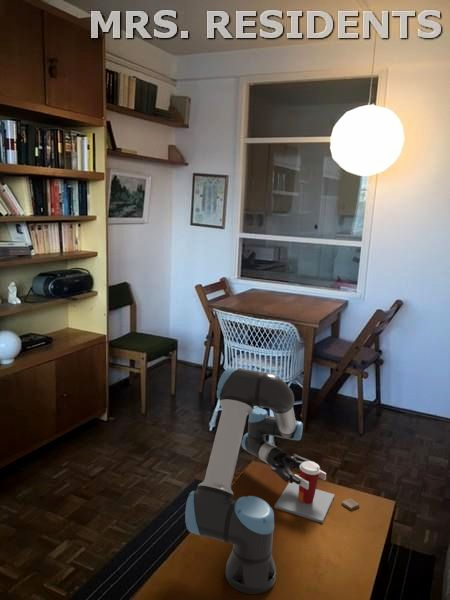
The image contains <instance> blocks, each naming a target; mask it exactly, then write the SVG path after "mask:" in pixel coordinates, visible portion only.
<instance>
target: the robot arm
mask: <svg viewBox="0 0 450 600" xmlns="http://www.w3.org/2000/svg"><path fill="white" fill-rule="evenodd" d="M218 380H219V381H218V383H217V390H216V398H217V399H218V401H219V402H218V403H219V406H220V407H221V414H220V417H219V421H218V425H217V429H216V433H215V437H214V441H213V445H212V449H211V452H210V456H209V460H208V465H207V468H206V472H205V476H204V480H203V481H202V482H200V483H199V484H198V485H197V487H196V490H191V492H190V493H189V494H188V497H187V500H186V504H185V505H186V506H185V515H184V516H185V518H184V519H185V526H186V528H187V531H188V532H189V533H191V534H194V535H197V536H199V537H202V538H203V537H205V538H207V539H208V538H209V539H213V540H215V541H216V540H217V541H220V542H223V543H227V544H231V545H232V550H231V553H229V554H230V555H229V557H228V559H227V562H226V564H225V577H226V581H227V582H228V584H229V585H230V586H231V587H232V588H233V589H235V590H236V591H239V592H241V593H243V594H247V595H260V594H264V593H265V592H267V591H269V590H271V588H272V587H274V585H275V583H276V578H277V568H276V565H275V560H274V558H273V552H272V551H273V541H274V539H273V538H274V530H275V514H274V513H275V512H274V510H273V508H272V507H271V506H270V504H269V503H268V502H267V501H265V500H264V499H263V498H260V497H258V496H254V495H247V496H245V495H244V496H241V497H239V498H238V499H237V500H234V497H235V494H234V492H233V490H232V484H233V480H234V476H235V471H236V470H235V469H236V466H237V462H238V459H239V457H238V456H239V453H240V448H241V447H242V448H243V450H245V451H247V453H249V454H251V455H253V456H255V457H256V458H258V459H259V460H261V461H263V462H265V463H266V464H268V466H271V468H270V470H271V471H272V472H274V473H275V474H276V475H277V476H279V477H280V479H282V480H283V481H284V482H285V483H289V482H290V483H293V482H294V483H296V484H298V485H300V486H302V487H304V488H305V489H307V490H308V489H309V482H308V481H306V480H305V479H303V478H301V477H300V475H298V474H293V472H292V470H291V469H290V468H293V469H300V467H299V466H300V465H301V463H303V462H305V461H311V462H314V463H316V461H313V460H310V459H307V458H305V457H302V456H300V455H298V454H296V453H293V454H292V455H293V456H292V455H291V456H290V455H287V453H286V452H285V451H284V450H283V449H281V448H280V447H278V446H277V445H274V444H273V443H272V442H269V441H268V440H266V437H267V436H271V437H277V438H281V439H288V440H291V441H300V440H301V439H302V436H303V429H304V423H303V422H302V421H300V420H299V421H298V420H296V419H297V418H296V417H295V416H296V414H295V410H294V405H295V395H294V392H293V390H292V389H291V388H290V386H289V385H288V384H287V383H286V382H285V381H284V380H283V379H282V378H280V377H279V376H277V375H275V374H273V373H270V372H265V371H264V372H262V371H256V370H250V369H246V368H245V369H244V368H241V367H228V368H226V370H224V371H223V372H222V373H221V376H220V378H219V379H218ZM264 408H267V409H270V411H271V412H272V414H273V416H271V415H269V414H268V410H266V409H264ZM247 417H248V424H247V425H248V426H247V432H246V433H245V434H244V431H245V427H246V422H247ZM243 434H244V435H243ZM319 478H320V480H323V481H326V480H327V472H325V471H323V470H321V469H320V473H319V477H318V479H319Z"/></svg>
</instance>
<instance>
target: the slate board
mask: <svg viewBox="0 0 450 600" xmlns="http://www.w3.org/2000/svg"><path fill="white" fill-rule="evenodd" d="M298 493H299V485H298V484H296V483H294V482H293V483H290V481H288V484H287V485H286V487H285V489H284V490H283V492H282V493H281V495H280V496H279V498H278V500H277V501H276V503H274V506H273V507H274V509H277V510H280V511H282V512H286V513H288V514H289V513H290V514H292V515H296V516H299V517H302V518H304V519H308V520H311V521H315V522H317V523H321V524H323V523H324V521H325V519H326V516H327V514H328V511H329V510H330V507H331V505H332V503H333V501H334V499H335V494H334V493H331V492H328V491H325V490H321V489H317V488H316V490H315V495H314V499H313V502H312V503H310V504H305V503H302V502H300V501H299V499H298Z"/></svg>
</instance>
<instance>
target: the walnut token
mask: <svg viewBox="0 0 450 600" xmlns="http://www.w3.org/2000/svg"><path fill="white" fill-rule="evenodd" d="M341 505H343V506H344V507H345V508H347V510H349V511H353V510H355V509H358V508H360V503H358V502H357V501H355V500H353V499H352V498H351V497H349V498H347V499H345V500H343V501H341Z"/></svg>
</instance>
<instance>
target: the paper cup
mask: <svg viewBox="0 0 450 600" xmlns="http://www.w3.org/2000/svg"><path fill="white" fill-rule="evenodd" d="M311 461H312V460H310V461H305V462H303V463H301V465H300V466H299V467H300V468H299V476H300V477H301V478H303V479H305V480H306V481H308V482H309V489H308V490H307V489H305V488H304V487H302V486H300V485H299V493H298V499H299V501H300V502H302V503H305V504H310V503H312V502H313V499H314V495H315V490H316V489H317V486H318V482H319V481H318V480H319V473H320V470H321V467H320V465H319V464H318V463H316V462H315V461H313V462H311ZM314 462H315V463H314Z"/></svg>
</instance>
